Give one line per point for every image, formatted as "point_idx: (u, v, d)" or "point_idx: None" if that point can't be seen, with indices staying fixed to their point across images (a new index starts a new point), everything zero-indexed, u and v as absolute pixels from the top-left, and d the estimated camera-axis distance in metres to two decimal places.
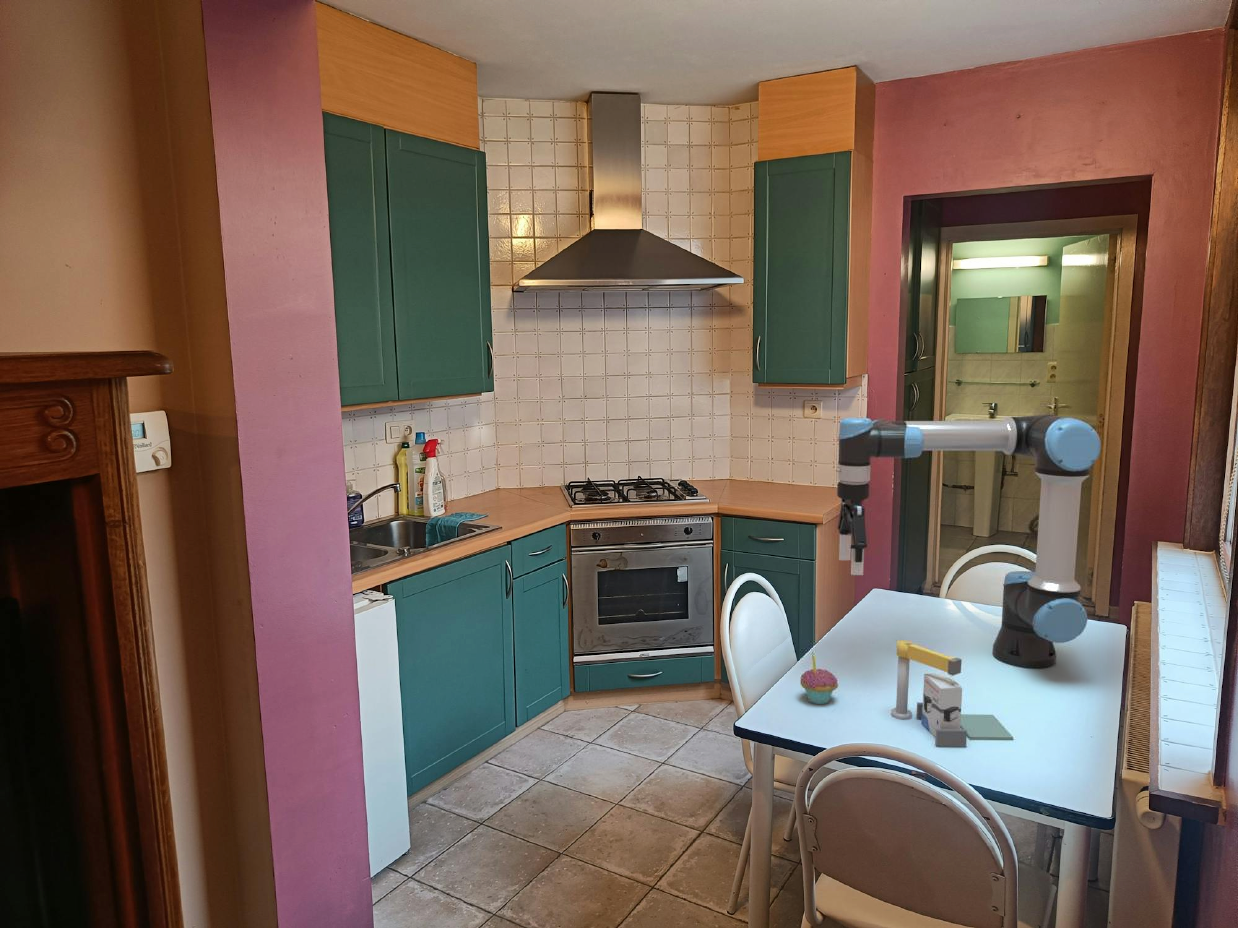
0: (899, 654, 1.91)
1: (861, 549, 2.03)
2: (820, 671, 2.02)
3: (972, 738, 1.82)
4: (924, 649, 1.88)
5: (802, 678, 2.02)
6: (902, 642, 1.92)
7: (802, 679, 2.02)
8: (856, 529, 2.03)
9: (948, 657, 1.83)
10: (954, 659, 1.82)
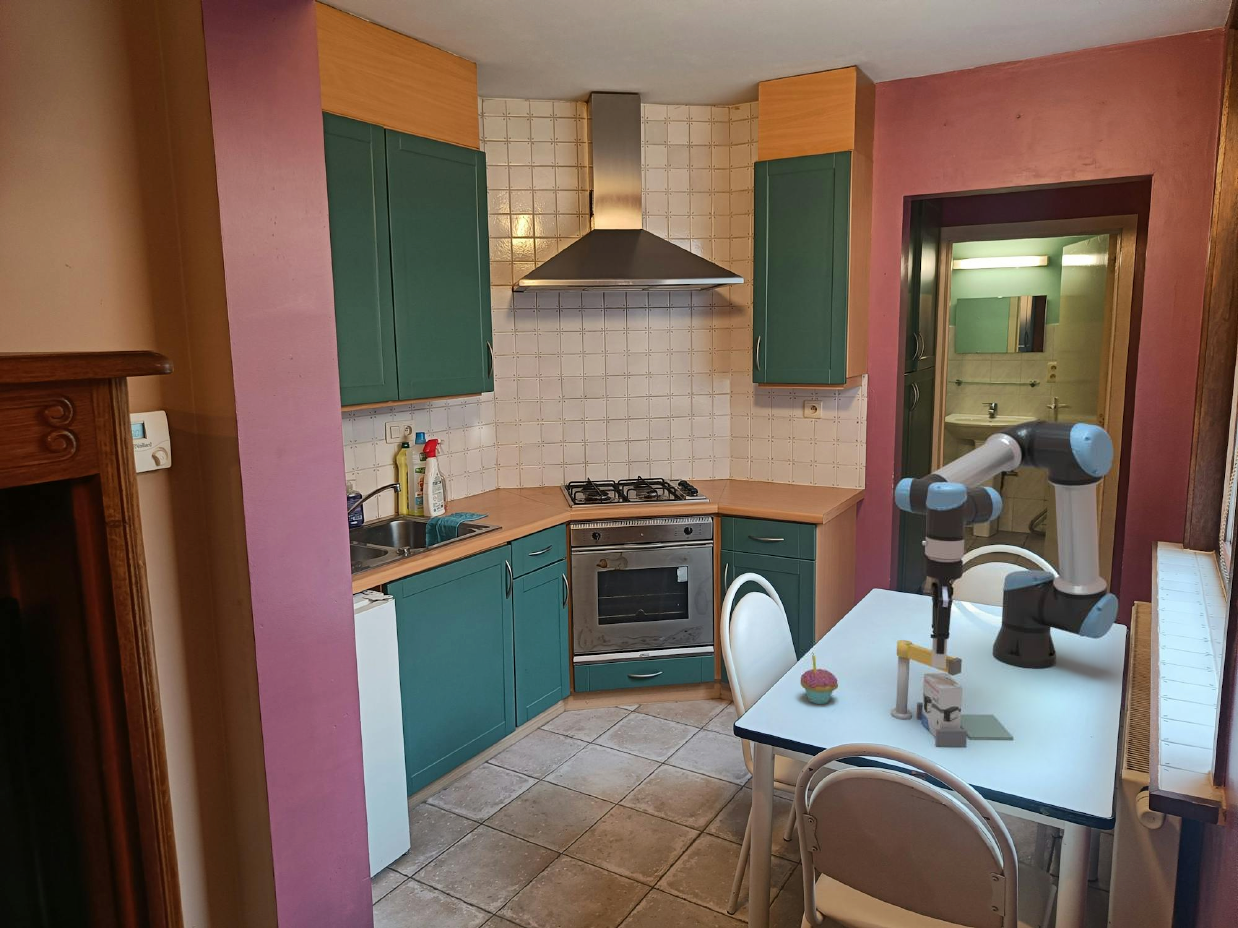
0: (899, 654, 1.91)
1: (943, 640, 1.80)
2: (820, 671, 2.02)
3: (972, 738, 1.82)
4: (924, 649, 1.88)
5: (802, 678, 2.02)
6: (902, 642, 1.92)
7: (802, 679, 2.02)
8: (939, 622, 1.77)
9: (948, 657, 1.83)
10: (954, 659, 1.82)
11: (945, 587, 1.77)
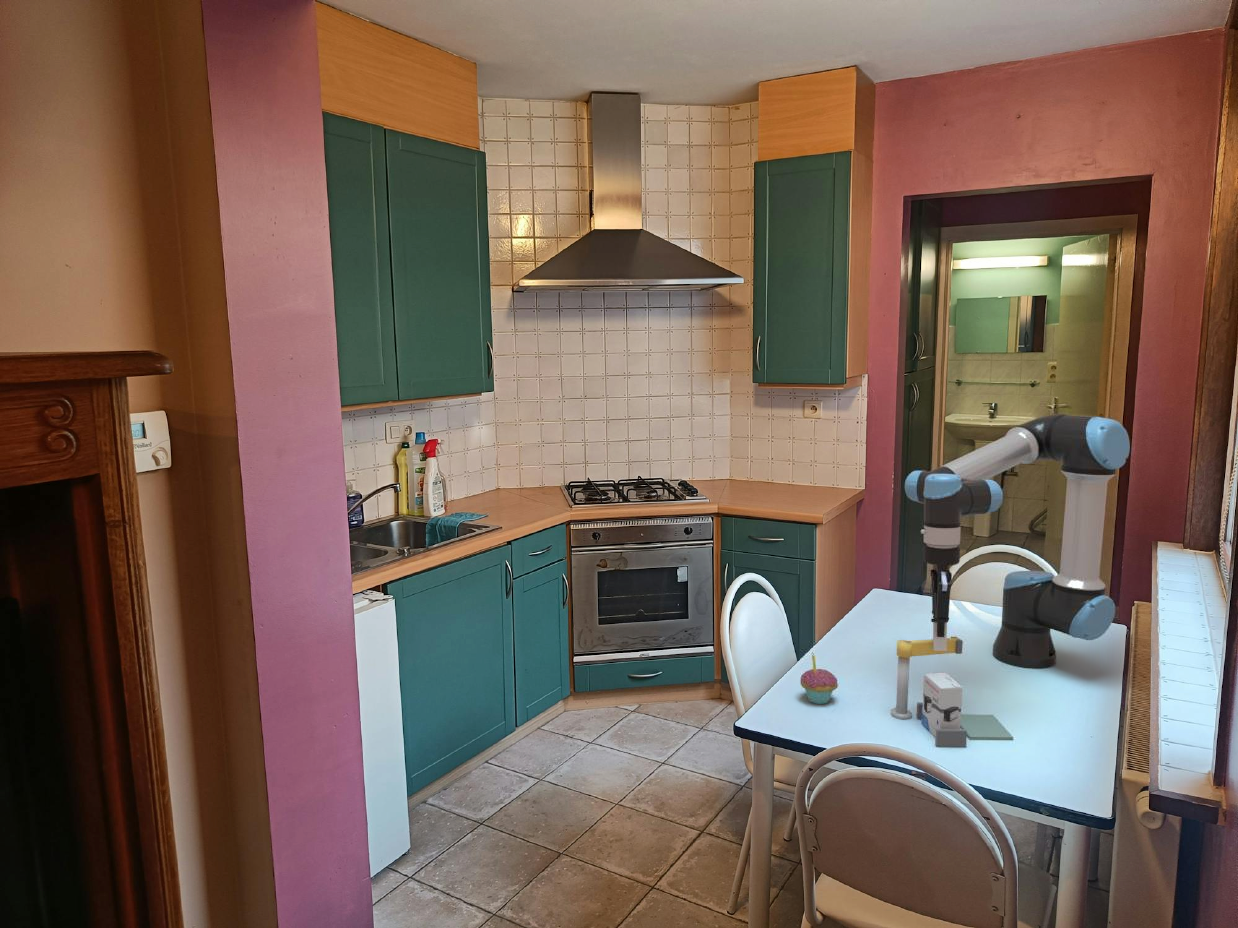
0: (907, 655, 1.91)
1: (943, 623, 1.89)
2: (820, 671, 2.02)
3: (972, 738, 1.82)
4: (926, 641, 1.93)
5: (802, 678, 2.02)
6: (904, 643, 1.91)
7: (802, 679, 2.02)
8: (939, 605, 1.86)
9: (950, 639, 1.94)
10: (956, 638, 1.94)
11: (944, 572, 1.86)
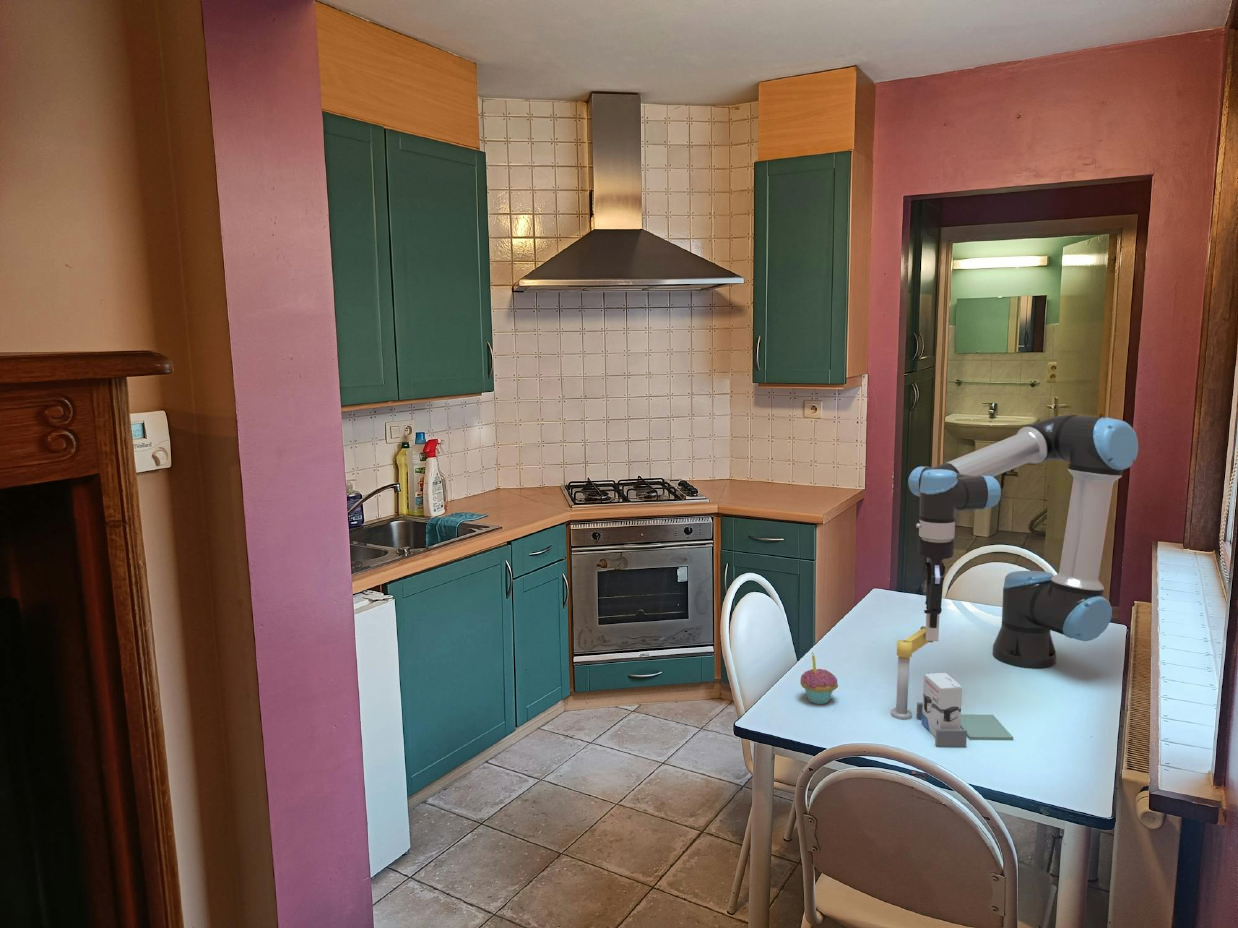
0: (911, 654, 1.91)
1: (935, 614, 1.95)
2: (820, 671, 2.02)
3: (972, 738, 1.82)
4: (914, 636, 1.96)
5: (802, 678, 2.02)
6: (905, 643, 1.91)
7: (802, 679, 2.02)
8: (932, 597, 1.92)
9: (924, 629, 2.00)
10: None
11: (937, 566, 1.92)
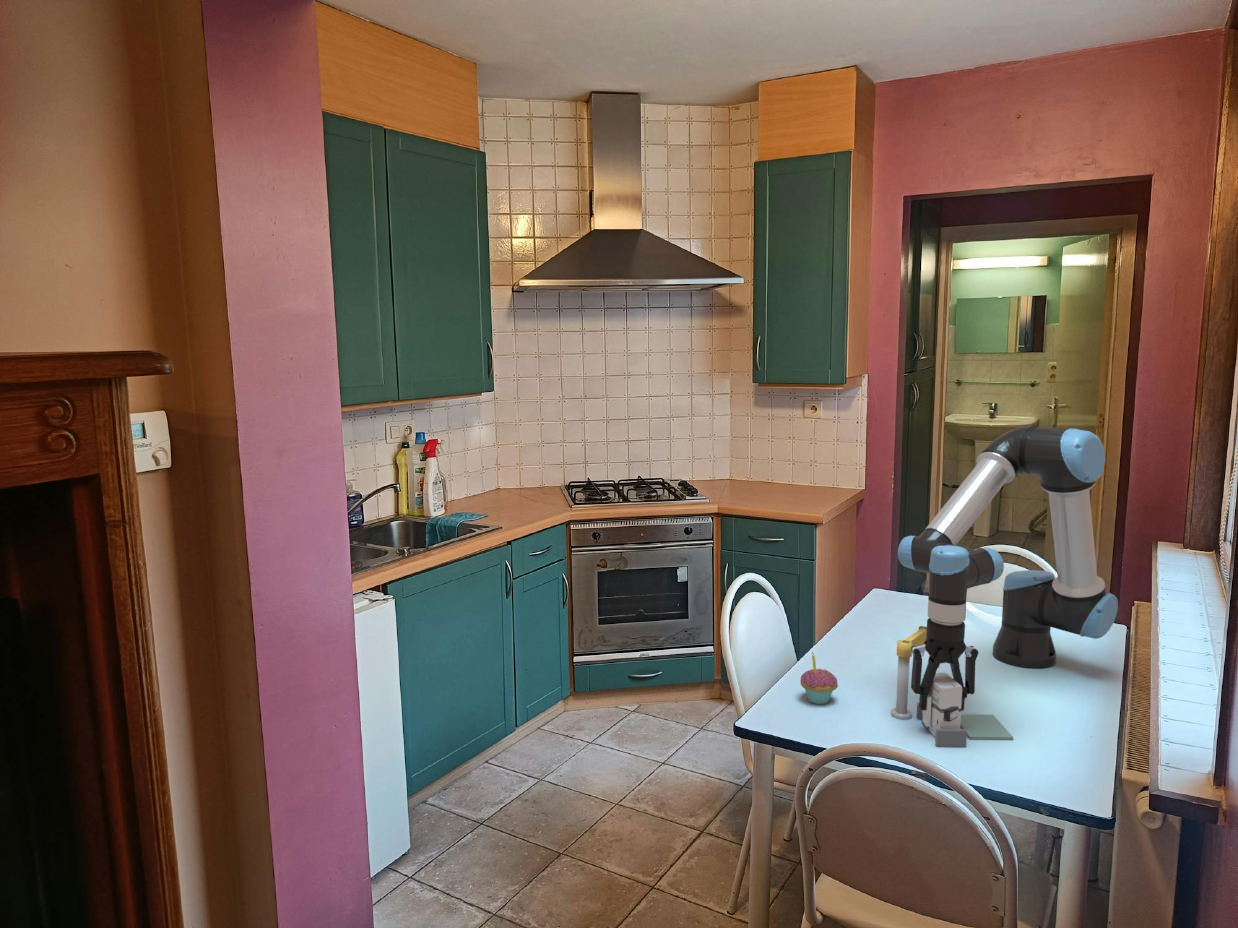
0: (911, 654, 1.91)
1: (920, 695, 1.85)
2: (820, 671, 2.02)
3: (972, 738, 1.82)
4: (913, 636, 1.96)
5: (802, 678, 2.02)
6: (905, 643, 1.91)
7: (802, 679, 2.02)
8: (912, 671, 1.85)
9: (923, 629, 2.00)
10: (925, 627, 2.01)
11: None
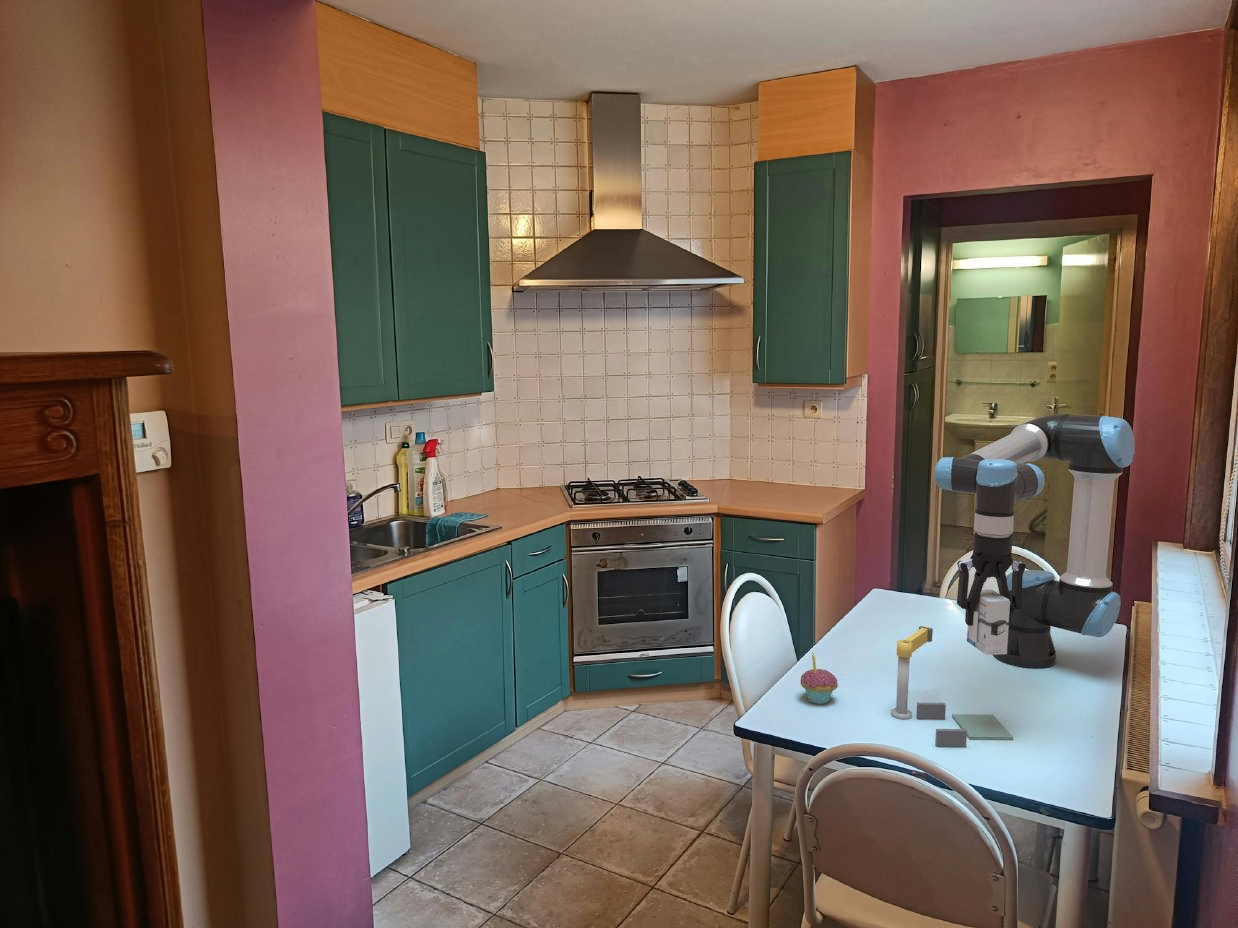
0: (911, 654, 1.91)
1: (966, 610, 1.84)
2: (820, 671, 2.02)
3: (972, 738, 1.82)
4: (913, 636, 1.96)
5: (802, 678, 2.02)
6: (905, 643, 1.91)
7: (802, 679, 2.02)
8: (958, 587, 1.84)
9: (923, 629, 2.00)
10: (925, 627, 2.01)
11: None
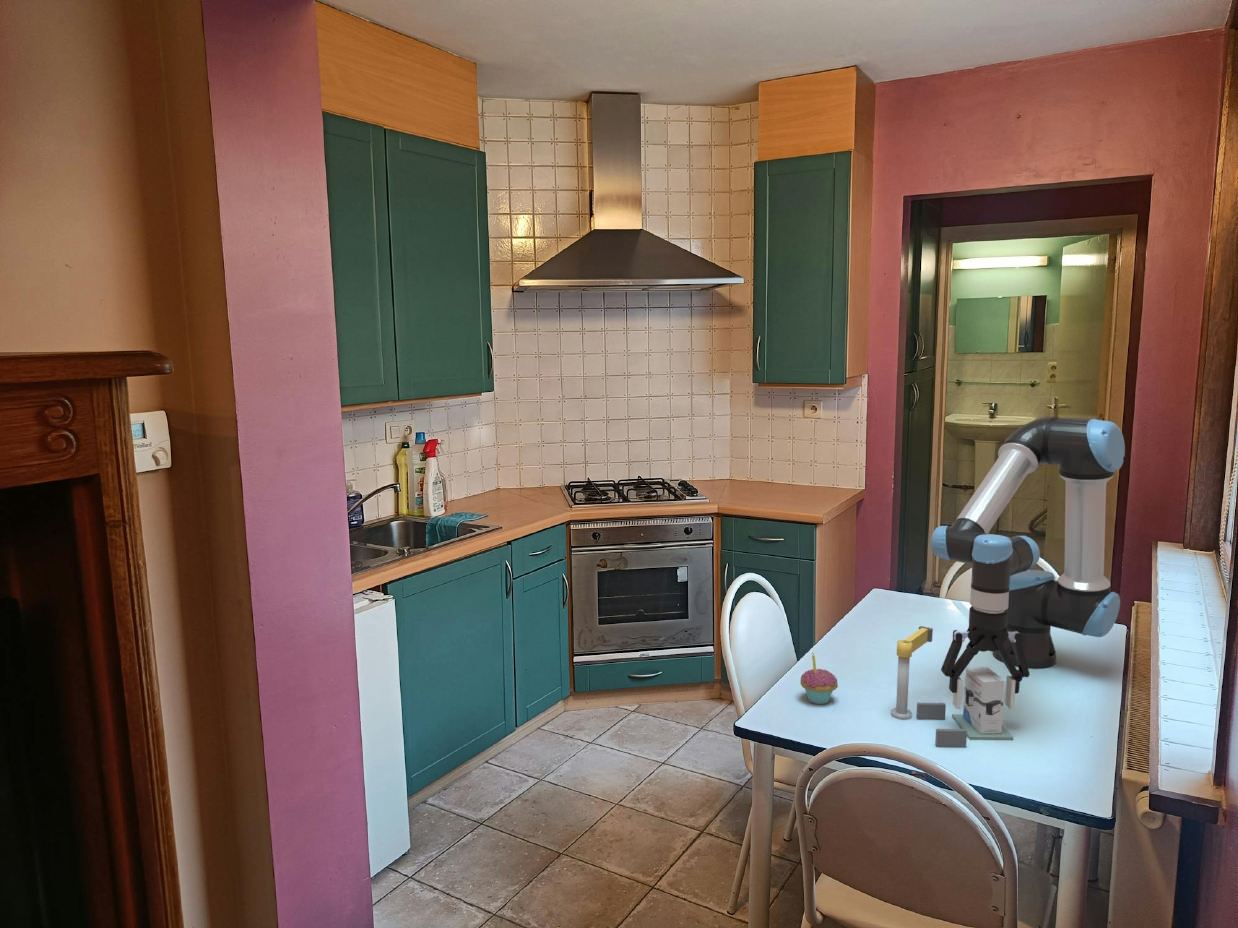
0: (911, 654, 1.91)
1: (950, 678, 1.86)
2: (820, 671, 2.02)
3: (972, 738, 1.82)
4: (913, 636, 1.96)
5: (802, 678, 2.02)
6: (905, 643, 1.91)
7: (802, 679, 2.02)
8: (947, 654, 1.86)
9: (923, 629, 2.00)
10: (925, 627, 2.01)
11: None
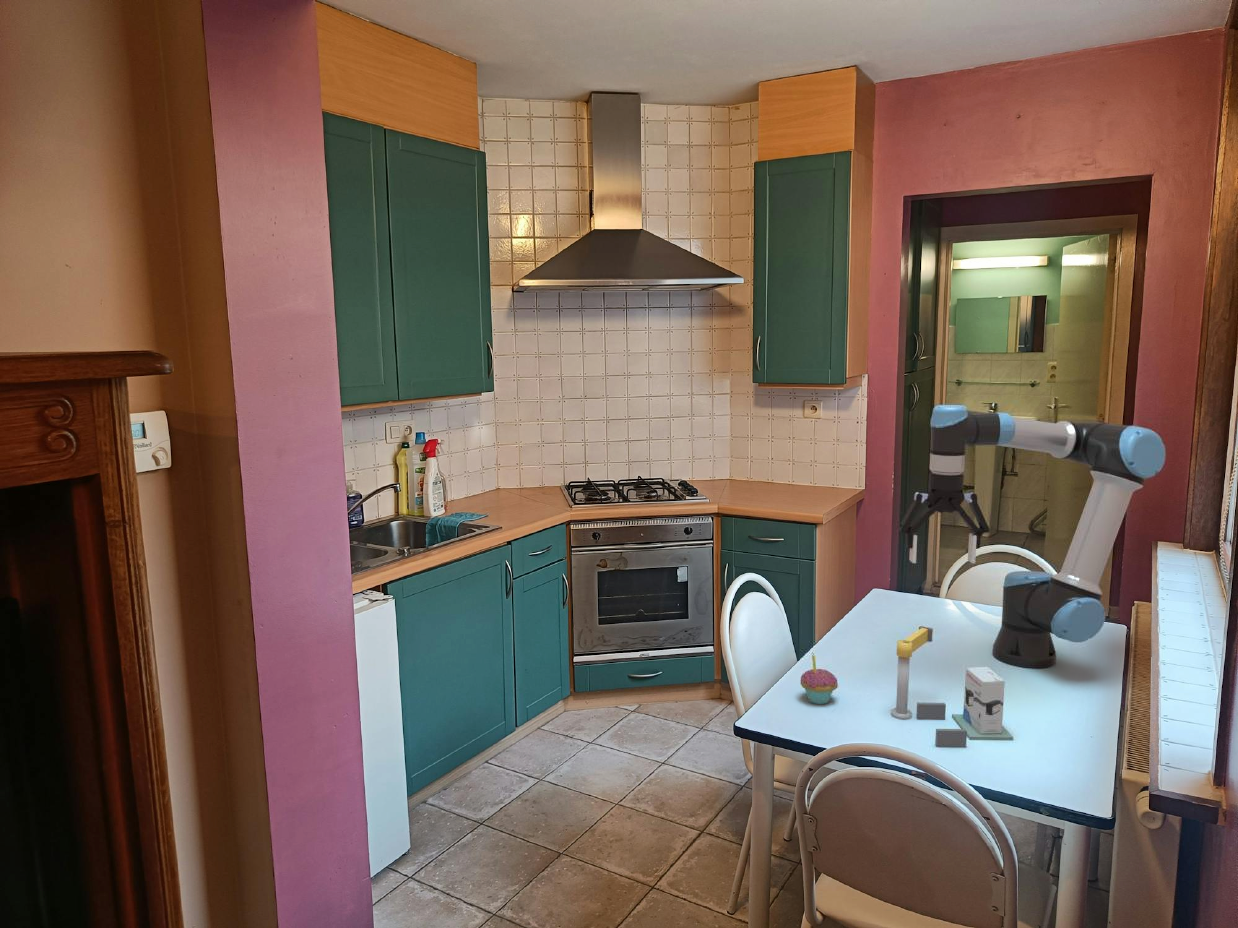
0: (911, 654, 1.91)
1: (907, 534, 2.02)
2: (820, 671, 2.02)
3: (972, 738, 1.82)
4: (913, 636, 1.96)
5: (802, 678, 2.02)
6: (905, 643, 1.91)
7: (802, 679, 2.01)
8: (906, 513, 2.02)
9: (923, 629, 2.00)
10: (925, 627, 2.01)
11: None
